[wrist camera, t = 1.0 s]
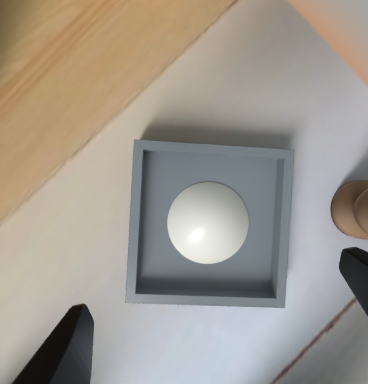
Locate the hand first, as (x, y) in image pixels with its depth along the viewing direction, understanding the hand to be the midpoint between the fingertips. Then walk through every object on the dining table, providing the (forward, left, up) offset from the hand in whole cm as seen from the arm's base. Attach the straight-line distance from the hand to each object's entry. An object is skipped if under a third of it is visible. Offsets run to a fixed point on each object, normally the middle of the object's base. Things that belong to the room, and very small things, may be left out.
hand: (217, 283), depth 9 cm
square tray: (0, -2, -16) cm, 16 cm away
